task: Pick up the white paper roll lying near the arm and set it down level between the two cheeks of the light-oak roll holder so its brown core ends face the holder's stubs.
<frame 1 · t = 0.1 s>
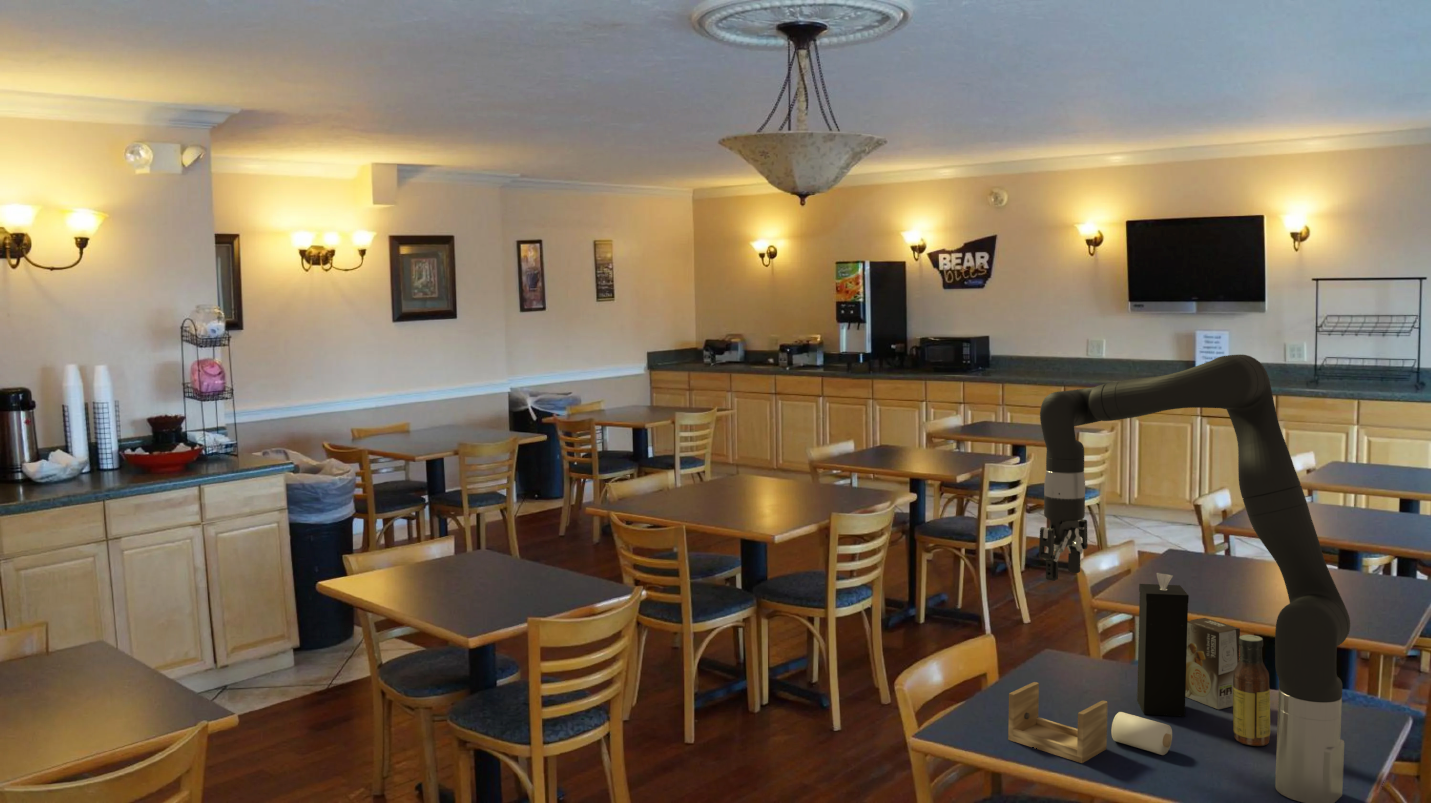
hand: (1063, 576, 212), 29 cm above the table, tool pointing down, fingers open, 8 cm apart
coffee box: (1210, 701, 225), on the table
sauce bottle: (1250, 742, 204), on the table
holder: (1056, 744, 204), on the table
tissue box: (1160, 709, 221), on the table
roll: (1141, 747, 202), on the table
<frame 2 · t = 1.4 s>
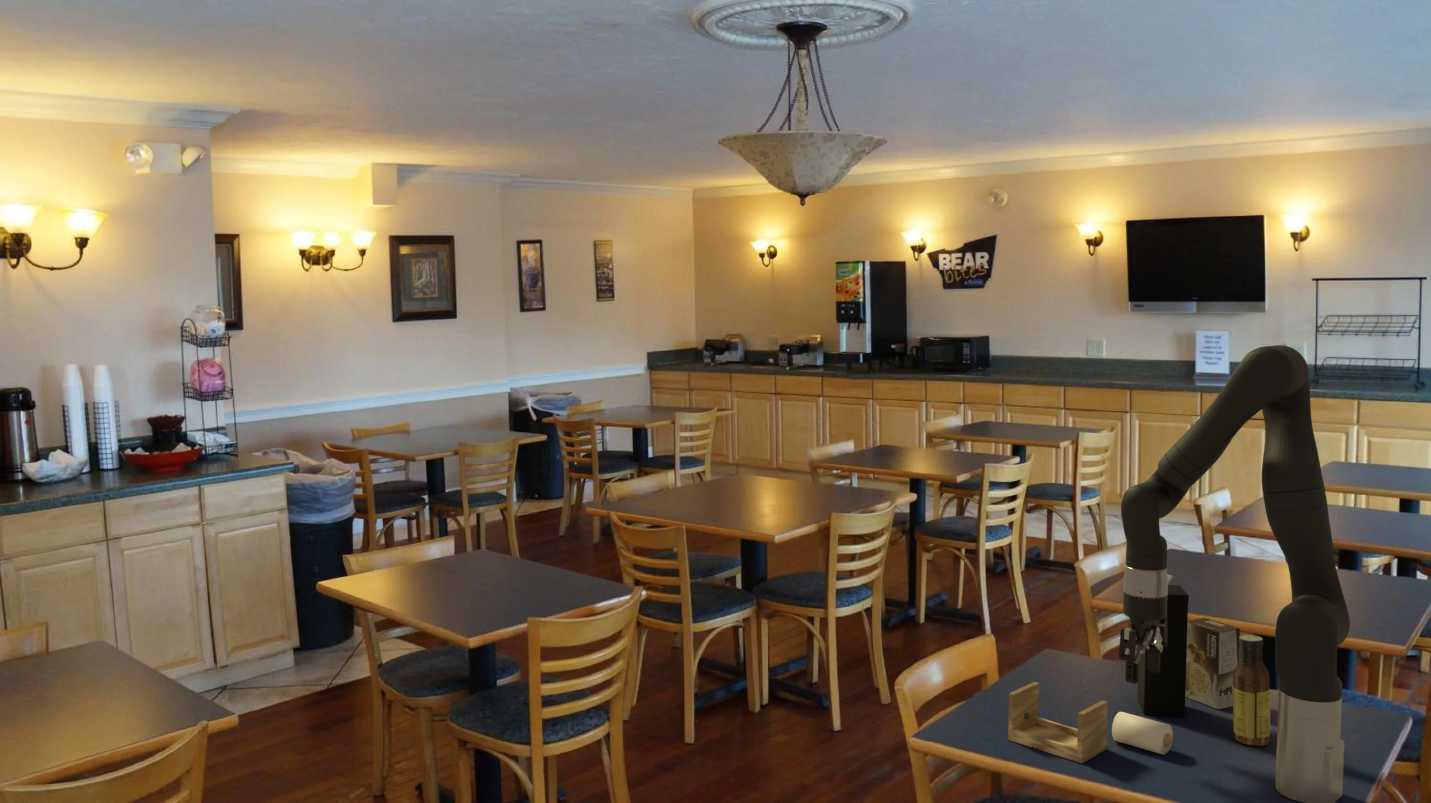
hand: (1142, 676, 201), 13 cm above the table, tool pointing down, fingers open, 8 cm apart
nothing on the table moved.
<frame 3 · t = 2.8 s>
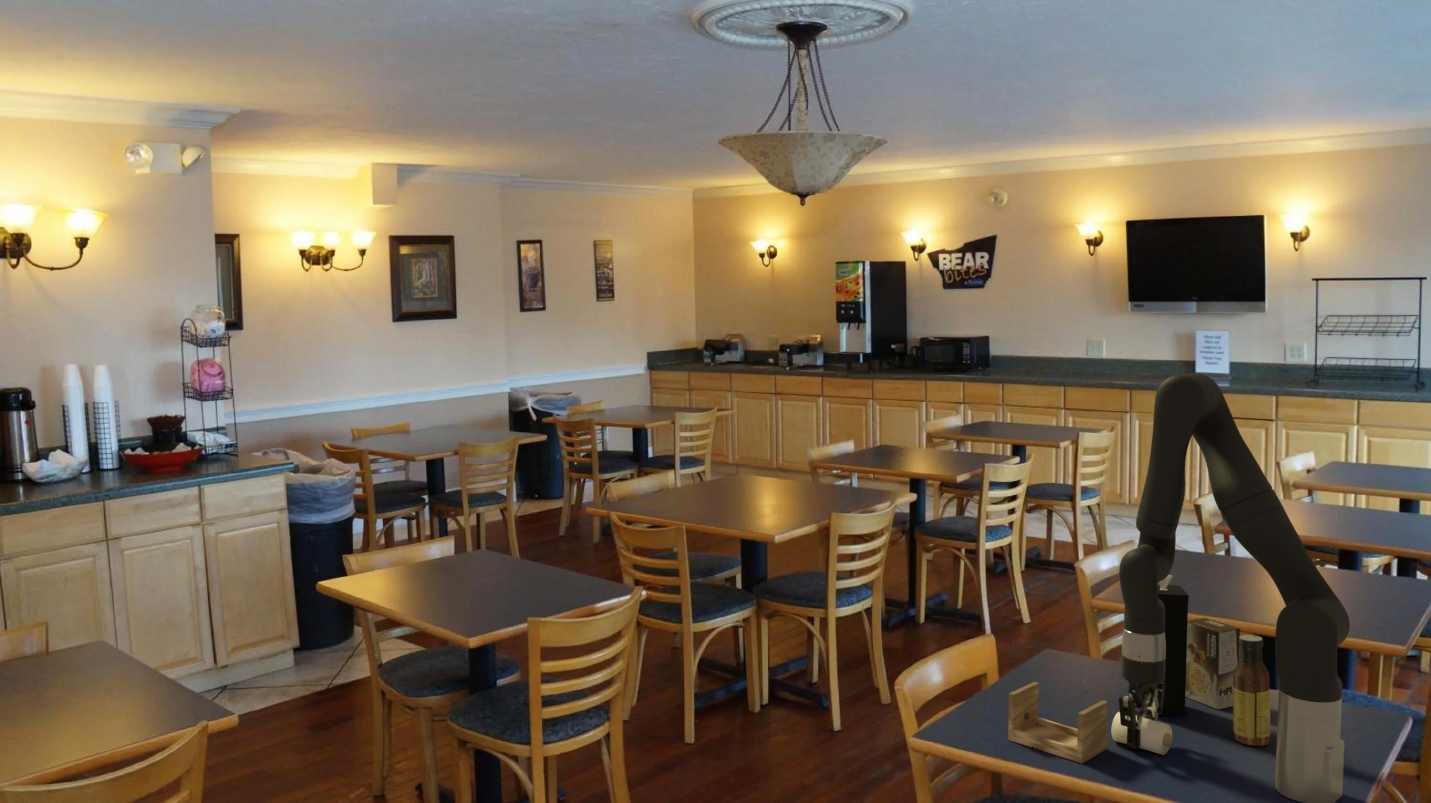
hand: (1141, 742, 202), 1 cm above the table, tool pointing down, fingers closed on roll, 5 cm apart
roll: (1141, 746, 202), on the table, touching gripper
everything else where it was.
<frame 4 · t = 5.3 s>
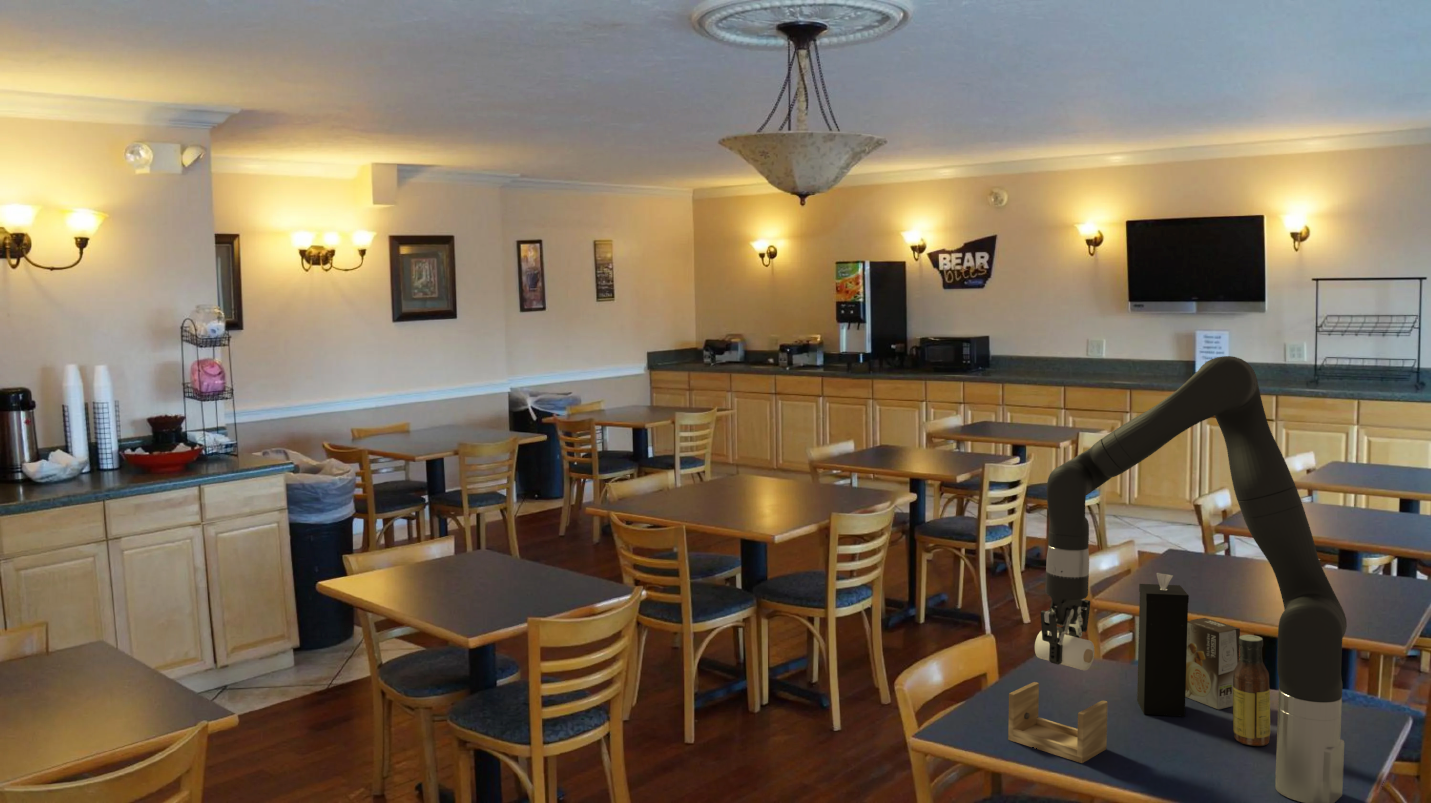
hand: (1064, 659, 203), 16 cm above the table, tool pointing down, fingers closed on roll, 5 cm apart
roll: (1063, 663, 203), point 15 cm above the table, touching gripper
everything else where it was.
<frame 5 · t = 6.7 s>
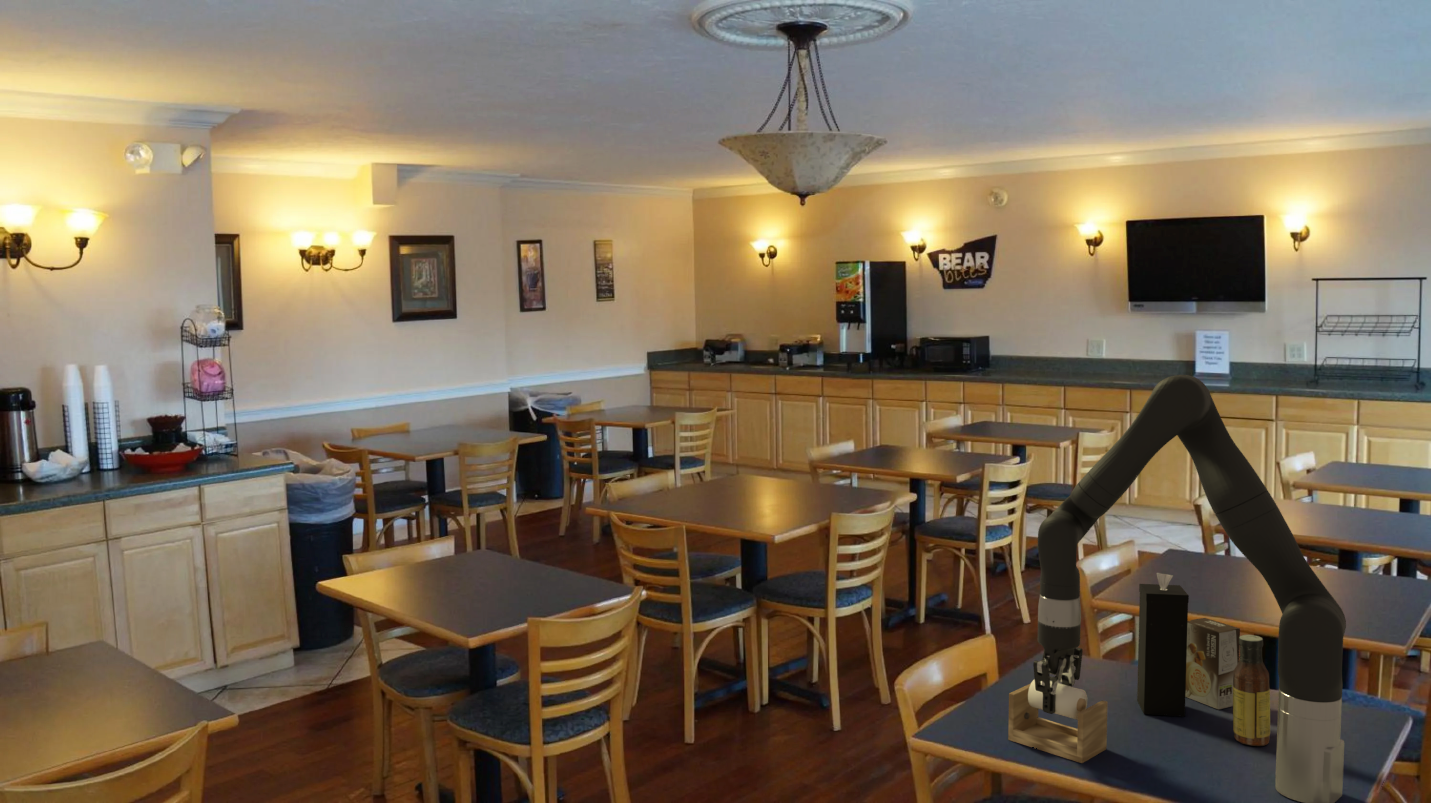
hand: (1057, 707, 203), 7 cm above the table, tool pointing down, fingers closed on roll, 5 cm apart
roll: (1057, 712, 203), point 6 cm above the table, touching gripper
everything else where it was.
when the fingers open (4 cm above the table, at t = 7.7 s): roll drops 2 cm, resting on holder.
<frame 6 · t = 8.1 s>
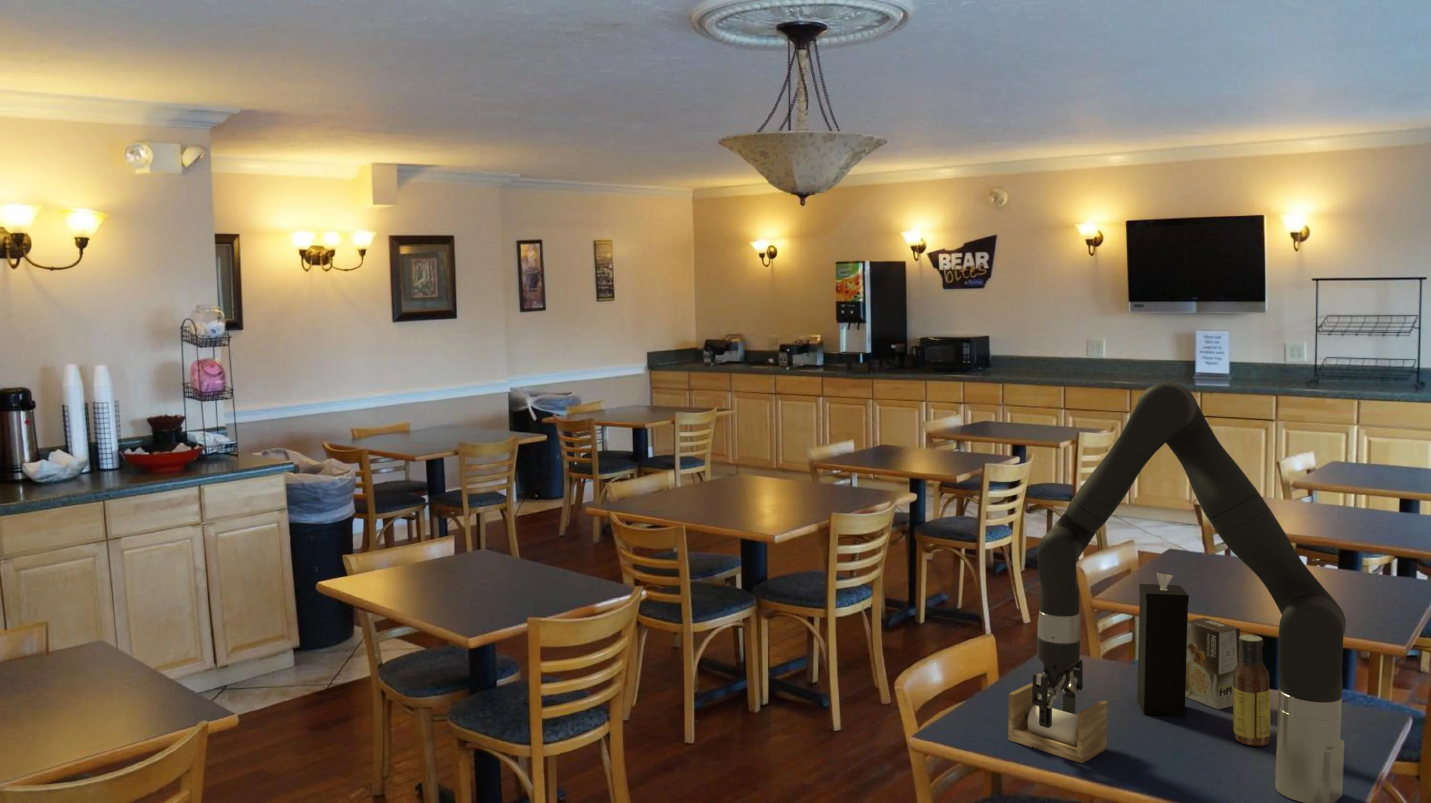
hand: (1057, 720, 203), 5 cm above the table, tool pointing down, fingers open, 8 cm apart
roll: (1057, 739, 204), point 1 cm above the table, touching holder
everything else where it was.
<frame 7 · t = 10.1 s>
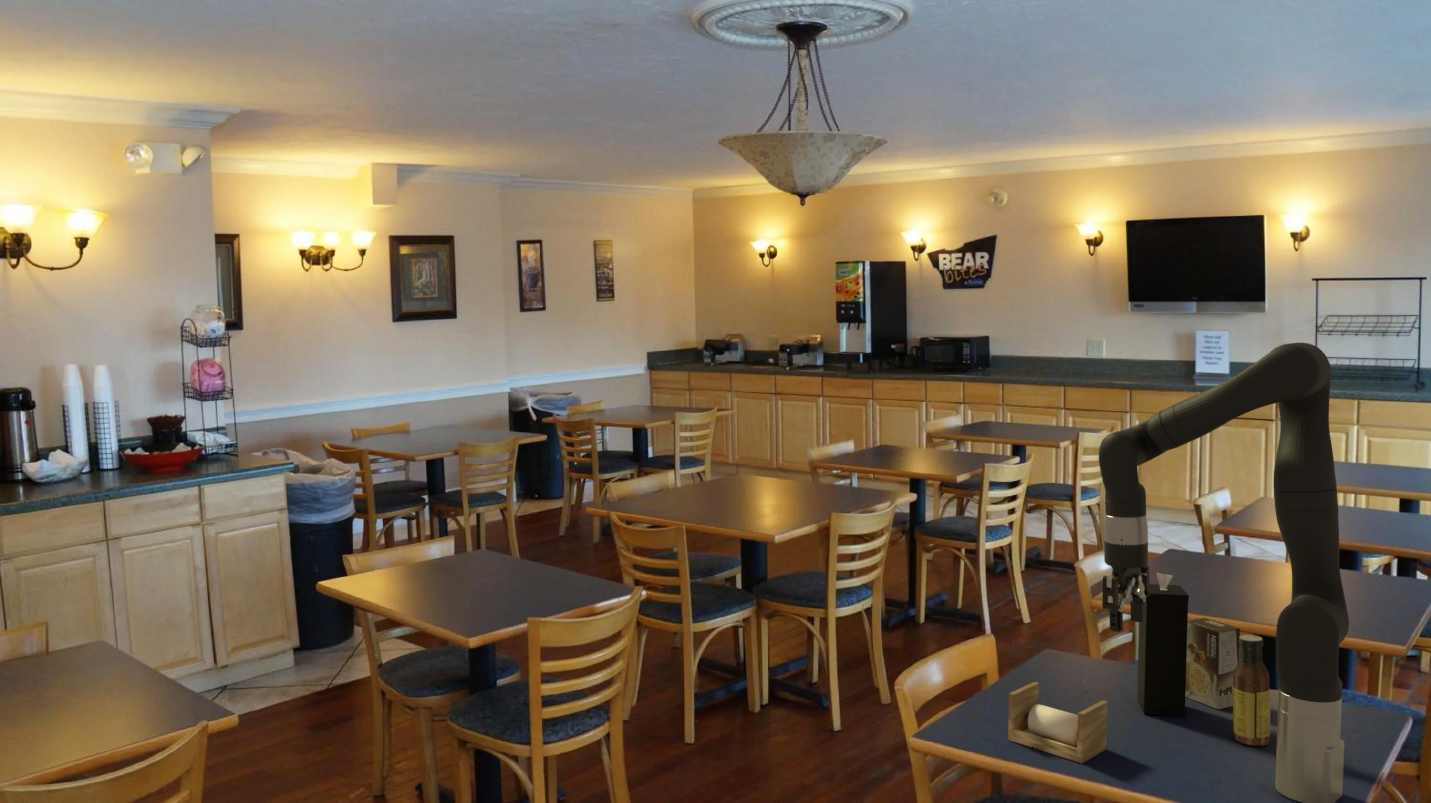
hand: (1127, 626, 201), 23 cm above the table, tool pointing down, fingers open, 8 cm apart
nothing on the table moved.
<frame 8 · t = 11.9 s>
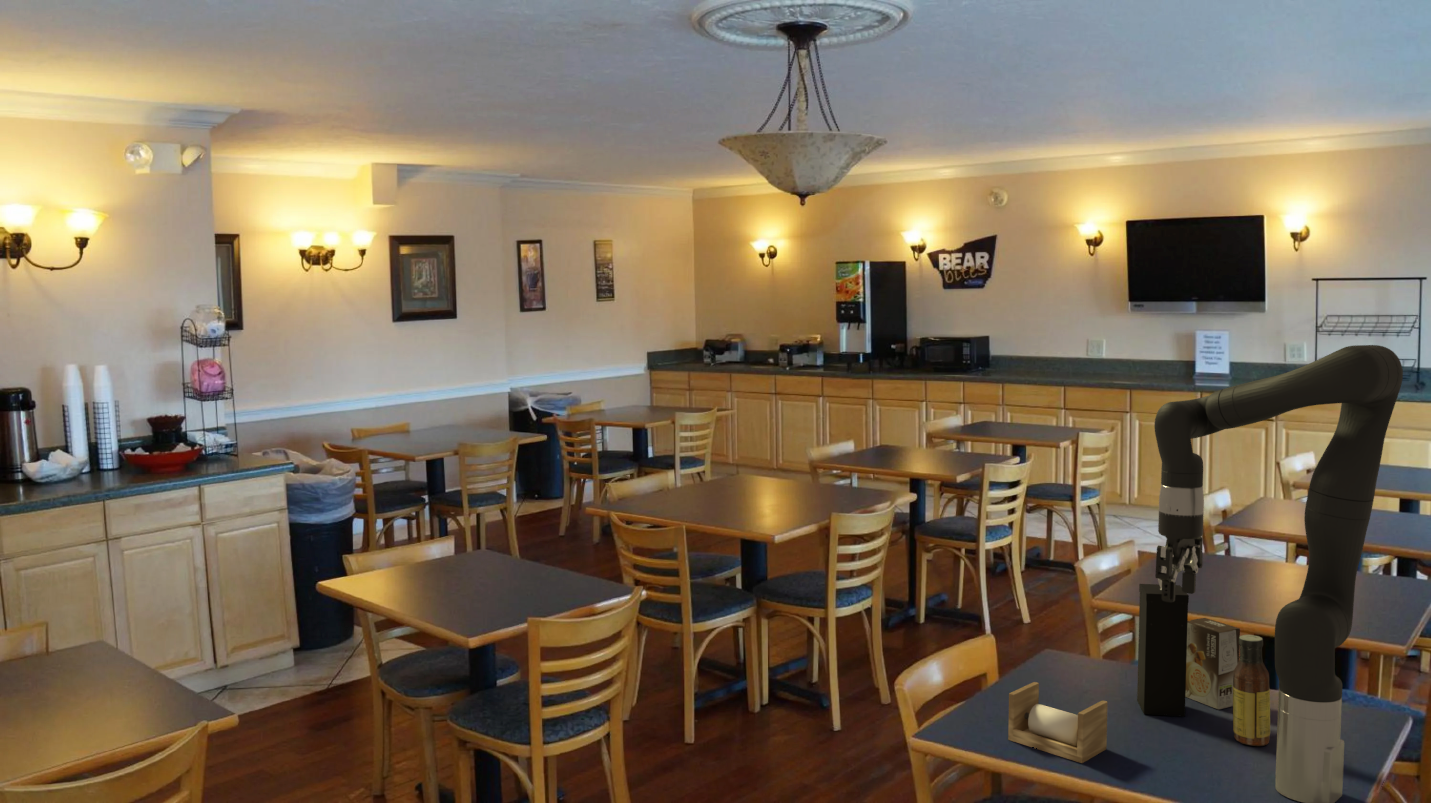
hand: (1178, 596, 200), 28 cm above the table, tool pointing down, fingers open, 8 cm apart
nothing on the table moved.
at the end: roll 0.0 cm off-centre on the holder, point 1.0 cm above the holder's base; the gripper is holding nothing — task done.
